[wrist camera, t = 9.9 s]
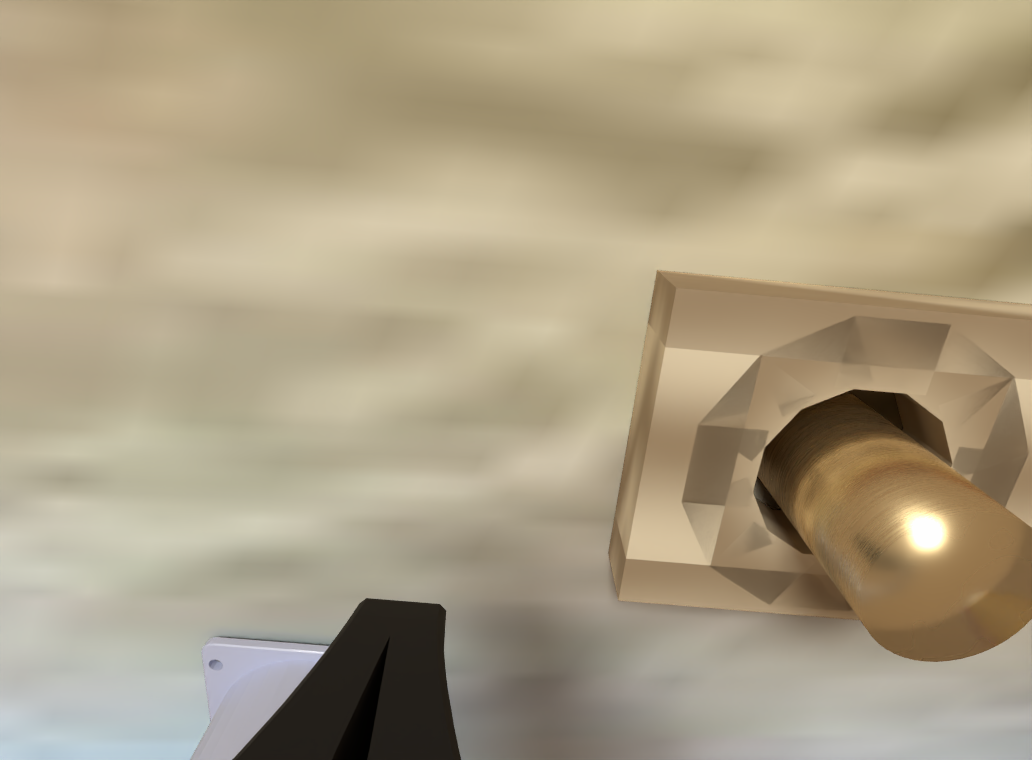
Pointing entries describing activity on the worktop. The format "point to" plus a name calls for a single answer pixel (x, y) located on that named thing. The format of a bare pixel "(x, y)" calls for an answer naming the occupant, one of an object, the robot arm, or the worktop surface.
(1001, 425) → the jig
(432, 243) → the worktop surface
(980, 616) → the brass round peg
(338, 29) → the worktop surface
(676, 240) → the worktop surface
